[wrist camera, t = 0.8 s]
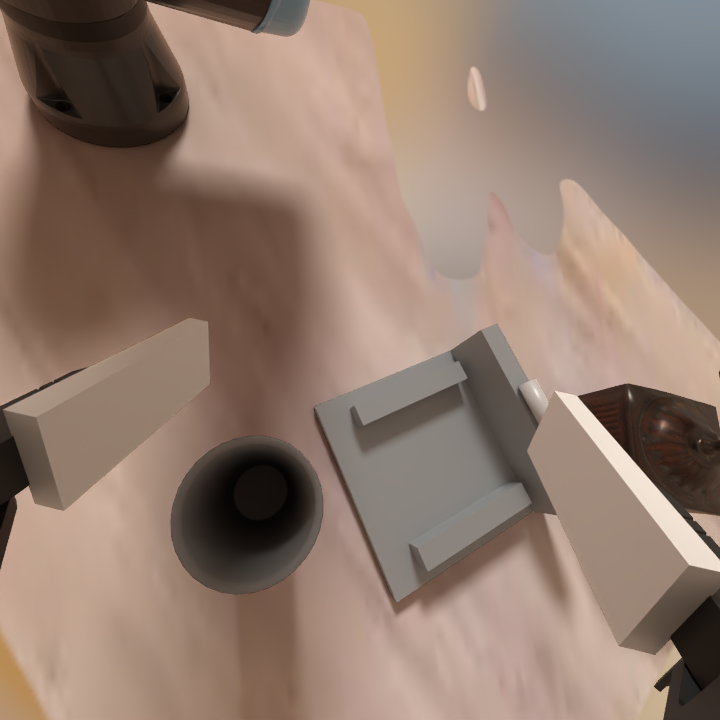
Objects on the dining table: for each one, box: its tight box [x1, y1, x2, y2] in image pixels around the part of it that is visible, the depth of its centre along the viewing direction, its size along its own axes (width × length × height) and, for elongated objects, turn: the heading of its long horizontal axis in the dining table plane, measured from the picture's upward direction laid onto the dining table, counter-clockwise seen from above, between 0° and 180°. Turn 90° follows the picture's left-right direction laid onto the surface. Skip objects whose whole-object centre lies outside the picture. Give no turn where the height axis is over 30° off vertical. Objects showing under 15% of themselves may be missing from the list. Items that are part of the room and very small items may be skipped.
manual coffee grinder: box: [577, 371, 720, 516], centre depth 32 cm, size 16×11×18 cm
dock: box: [314, 324, 557, 602], centre depth 30 cm, size 18×18×9 cm
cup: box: [171, 436, 323, 594], centre depth 23 cm, size 7×7×15 cm
